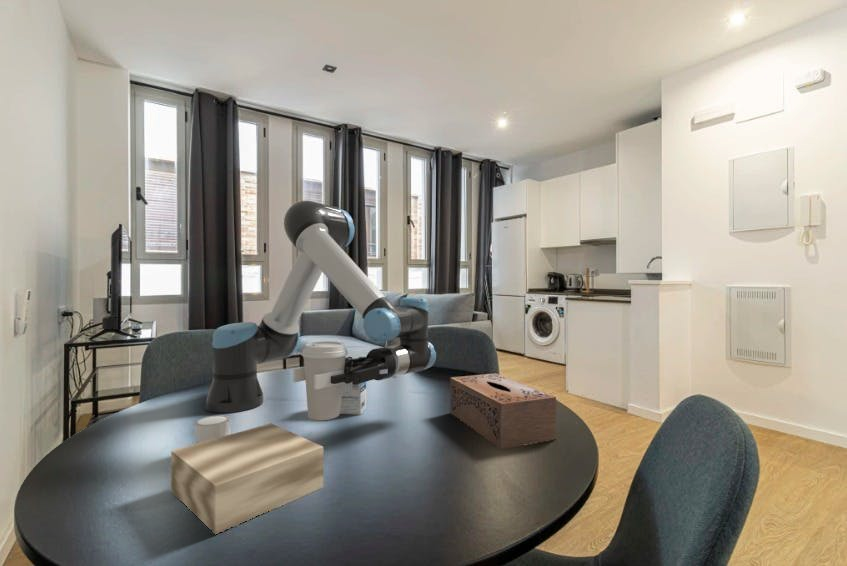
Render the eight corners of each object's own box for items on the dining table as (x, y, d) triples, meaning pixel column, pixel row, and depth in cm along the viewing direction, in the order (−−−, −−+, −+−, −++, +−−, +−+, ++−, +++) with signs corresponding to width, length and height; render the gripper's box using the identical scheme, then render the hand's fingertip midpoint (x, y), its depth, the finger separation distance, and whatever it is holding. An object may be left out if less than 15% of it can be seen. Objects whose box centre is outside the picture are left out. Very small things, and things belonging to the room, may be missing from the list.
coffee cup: (298, 410, 88) (299, 341, 88) (341, 405, 92) (343, 339, 92) (303, 425, 79) (304, 349, 79) (351, 419, 83) (352, 346, 83)
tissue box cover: (556, 441, 92) (556, 397, 92) (501, 450, 87) (501, 404, 87) (495, 408, 116) (495, 373, 116) (450, 414, 111) (450, 377, 111)
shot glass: (193, 463, 80) (193, 427, 80) (194, 450, 86) (194, 417, 86) (231, 456, 83) (231, 422, 83) (230, 444, 89) (230, 412, 89)
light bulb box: (367, 407, 115) (367, 369, 115) (361, 415, 109) (361, 375, 109) (330, 406, 116) (330, 369, 116) (322, 414, 110) (322, 374, 110)
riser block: (171, 492, 69) (171, 450, 69) (271, 457, 82) (271, 423, 82) (215, 535, 57) (215, 485, 57) (323, 487, 70) (323, 446, 70)
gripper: (416, 385, 93) (333, 408, 75) (359, 371, 106) (278, 388, 88) (417, 352, 92) (334, 368, 75) (360, 342, 106) (278, 353, 88)
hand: (304, 378), depth 82 cm, fingers closed on coffee cup, 7 cm apart
